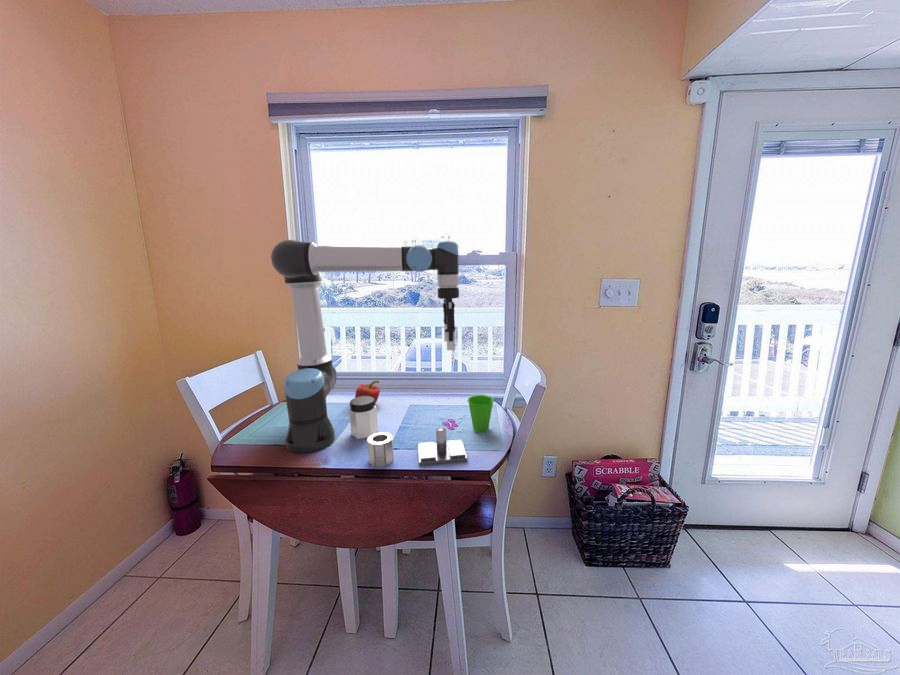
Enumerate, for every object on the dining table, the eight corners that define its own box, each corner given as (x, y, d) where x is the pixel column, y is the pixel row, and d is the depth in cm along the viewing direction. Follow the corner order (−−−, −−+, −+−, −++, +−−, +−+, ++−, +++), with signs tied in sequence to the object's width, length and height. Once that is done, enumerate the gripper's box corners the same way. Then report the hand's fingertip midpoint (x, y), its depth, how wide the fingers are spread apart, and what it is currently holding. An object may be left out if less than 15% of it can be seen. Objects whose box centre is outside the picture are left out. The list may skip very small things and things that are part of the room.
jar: (382, 433, 119) (379, 400, 117) (360, 441, 114) (357, 407, 111) (368, 424, 126) (366, 393, 123) (347, 432, 120) (344, 400, 118)
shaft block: (419, 465, 99) (418, 439, 98) (418, 447, 109) (417, 423, 107) (467, 461, 101) (467, 435, 99) (462, 444, 111) (461, 420, 109)
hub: (368, 467, 99) (366, 445, 98) (370, 454, 106) (369, 433, 105) (393, 465, 100) (391, 443, 99) (393, 452, 107) (392, 431, 105)
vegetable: (375, 398, 150) (373, 376, 148) (386, 405, 142) (385, 382, 140) (351, 405, 144) (349, 382, 141) (362, 413, 136) (360, 389, 133)
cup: (496, 434, 116) (496, 404, 114) (469, 436, 116) (468, 405, 113) (491, 422, 125) (491, 394, 123) (466, 424, 125) (466, 395, 122)
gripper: (462, 289, 110) (463, 353, 115) (455, 284, 135) (456, 337, 139) (439, 289, 110) (441, 354, 114) (436, 284, 134) (437, 338, 139)
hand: (449, 345), depth 127 cm, fingers open, 13 cm apart
